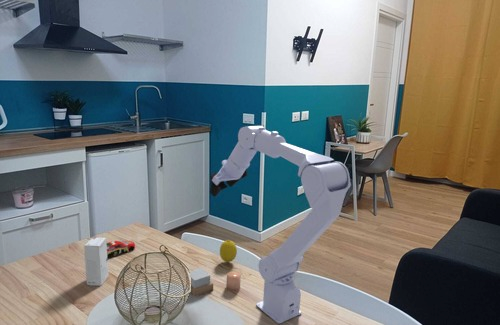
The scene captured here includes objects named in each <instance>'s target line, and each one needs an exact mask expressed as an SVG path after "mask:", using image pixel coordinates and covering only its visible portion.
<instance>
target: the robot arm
mask: <svg viewBox="0 0 500 325" xmlns="http://www.w3.org/2000/svg"><path fill="white" fill-rule="evenodd" d="M237 139H238V142H237V143H236V145H235V146H234V149H232V151H231V153H230V155H229V157H228V159H224V160H222V161H221V165H222V166H221V168H220V169H219V171H218V172H216V171H215V172H213V173H211V175H210V176H209V179H210V187H209V193H210V195H212V196H213V197H216V196H218V195H219V194H220V192H221V191H222V190H225V189H227V188H228V187H229V188H232V187H233V186H235V185H236V184H237V183H238V182H239V181H240V180H242V179H244V178H245V177H247V176H248V175H249V172H248V171H247V170H246V169H248V168H249V167H250V165H251V163H250V162H251V161H252V160H253V158H254V156H255V155H256V154H257V153H258V152H260V153H262V154H263V155H266V156H268V157H270V158H272V159H278V158H280V157H281V158H283V159H285V160H286V161H288V162H290V163H291V164H294V165H296V166H298V173H297V176H298V177H299V178H300V181H301V186H302V189H303V192H304V194H305V198H306V199H307V202H308V204H309V207H310V208H311V210H310V211H309V213H308V214H307V215H305V217H304V218H303V219H302V221H301V222H300V223H299V224H298V226H297V227H296V228H295V229H294V230H293V231H292V232H291V233H290V235H289V236H288V237H287V238H286V239H285V241H284V242H283V243H282V244H281V246H279V247H278V248H276V249H275V250H273V251H271V252H270V253H269V254H268V255H267V256H263V257H260V258H259V261H258V272H259V274H260V276H261V278H262V279H263V280H264V283H263V300H261V301H259V302H256V305H255V306H256V307H258V308H259V309H260V310H261V311H262V312H263V313H265V314H266V315H267V316H268V317H270V318H271V319H272V320H273V321H274V322H276V323H277V324H282V323H284V322H286V321H288V320H290V319H292V318H296V317H297V316H299V315H301V314H302V311H301V310H300V306H301V304H300V303H301V294H302V292H301V289H299V287H298V286H297V285H296V284H295V282H294V280H293V279H294V277H295V273H296V272H298V271H299V269H300V268H301V262H302V261H303V260H304V256H303V255H304V254H305V253H306V252H307V251H308V249H309V248H311V246H312V245H314V244H315V242H316V241H317V240H318V239H319V238H320V237H321V236H322V235H323V234H324V233H325V232H326V230H327V229H329V227H330V226H331V225H332V224H333V223H334V222H335V221H336V220H338V218H339V216H340V215H341V211H342V208H343V203H344V199H345V197H346V193H347V191H348V190H349V189H350V187H351V186H352V184H351V178H350V172H349V169H348V167H347V166H346V165H345V164H344V163H343V162H341V161H335V159H334V158H332V157H330V156H326V155H323V154H319V153H316V152H313V151H310V150H307V149H304V148H302V147H298V146H296V145H293V144H291V143H287V142H286V139H285V138H284V136H282V135H279V132H278V131H276V130H275V131H274V130H273V131H269V130H267V129H266V128H265V127H264V126H262V125H250V126H248V125H247V126H243V127H240V129H239V131H238V134H237ZM309 250H310V249H309Z"/></svg>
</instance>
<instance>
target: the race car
mask: <svg viewBox="0 0 500 325" xmlns="http://www.w3.org/2000/svg"><path fill="white" fill-rule="evenodd" d="M106 245H107V259H112V258H113V257H116V256H119V255H122V254H126V253H129V252H133V251H134V250H135V249H136V244H135V241H132V240H122V241H119V240H113V241H109V242H106Z"/></svg>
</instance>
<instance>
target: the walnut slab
mask: <svg viewBox="0 0 500 325" xmlns="http://www.w3.org/2000/svg"><path fill="white" fill-rule="evenodd" d="M213 291H214V282H212V281H211V280H210V283H209V284H206V285H203V286H201V287H198V288H195V289H194V288H193V287H192V286H191V293H190V294H191V295H192V296H193V295H194V296H195V297H198V296H201V295H203V294H206V293H209V292H213ZM194 296H193V297H194Z"/></svg>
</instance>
